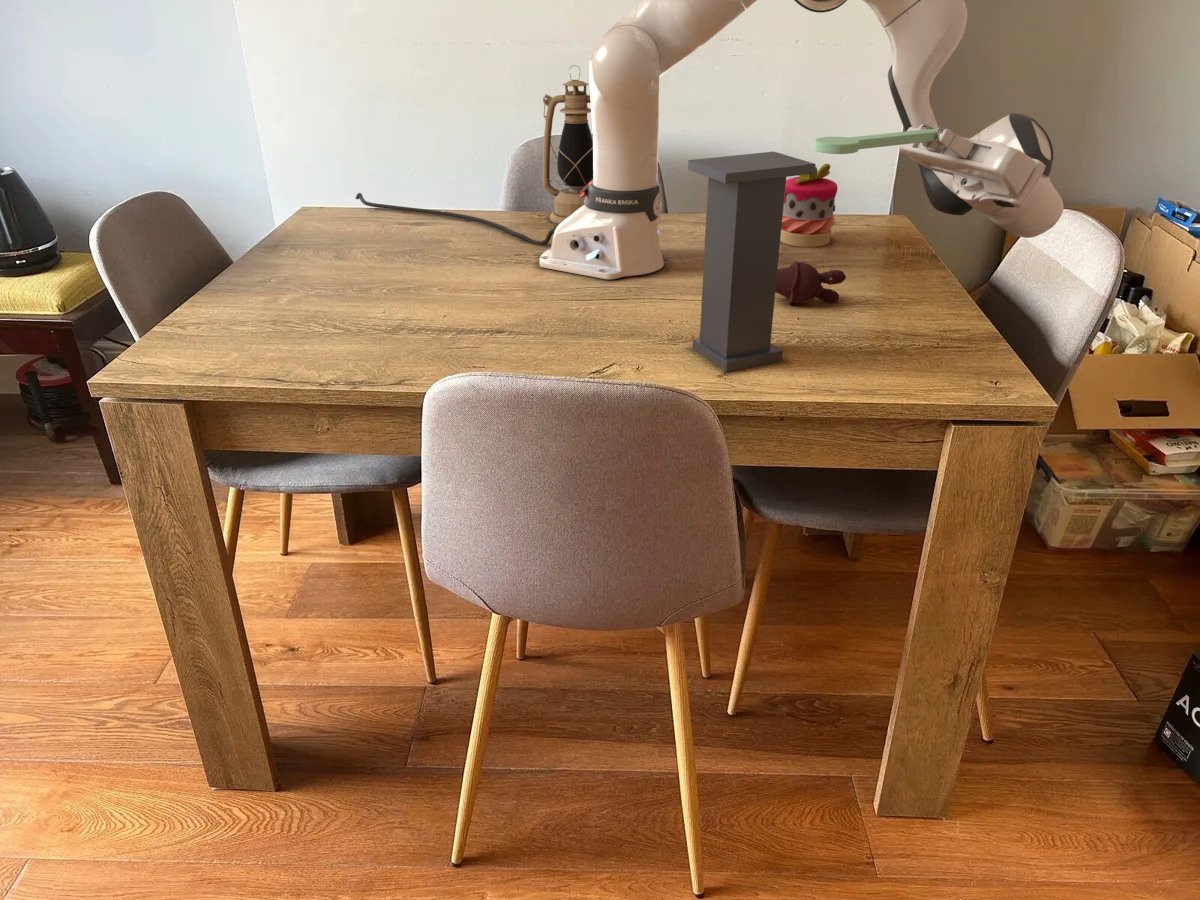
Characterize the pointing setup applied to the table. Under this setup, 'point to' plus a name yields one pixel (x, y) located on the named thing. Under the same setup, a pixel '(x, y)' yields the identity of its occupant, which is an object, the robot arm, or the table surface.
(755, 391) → the table surface
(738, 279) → the stand
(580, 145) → the lantern
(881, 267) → the table surface
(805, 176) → the cake
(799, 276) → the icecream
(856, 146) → the spoon
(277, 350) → the table surface
